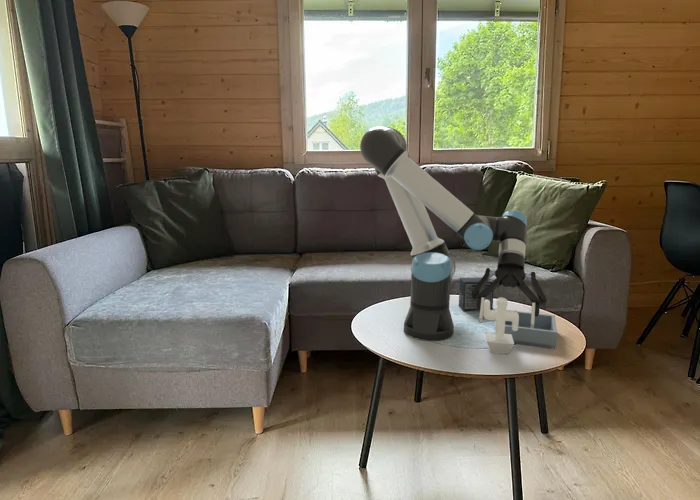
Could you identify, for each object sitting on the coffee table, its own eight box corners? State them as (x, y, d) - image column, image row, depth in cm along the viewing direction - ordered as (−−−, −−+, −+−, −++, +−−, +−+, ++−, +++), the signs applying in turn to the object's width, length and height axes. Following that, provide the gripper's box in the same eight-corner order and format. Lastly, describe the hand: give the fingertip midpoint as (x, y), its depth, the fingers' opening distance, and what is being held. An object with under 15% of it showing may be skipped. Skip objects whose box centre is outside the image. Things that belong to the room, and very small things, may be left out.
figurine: (517, 357, 136) (522, 304, 132) (481, 354, 137) (485, 301, 134) (514, 346, 142) (518, 296, 139) (480, 343, 144) (483, 293, 141)
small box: (486, 305, 179) (488, 276, 177) (493, 311, 173) (495, 281, 170) (457, 305, 178) (459, 276, 176) (462, 311, 172) (464, 281, 170)
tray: (496, 341, 146) (497, 325, 145) (499, 324, 160) (500, 309, 159) (555, 349, 141) (557, 332, 140) (553, 330, 155) (554, 315, 154)
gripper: (555, 267, 148) (553, 334, 137) (468, 260, 155) (460, 323, 145) (558, 254, 142) (556, 322, 131) (468, 247, 149) (459, 312, 139)
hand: (506, 323), depth 138 cm, fingers open, 13 cm apart
